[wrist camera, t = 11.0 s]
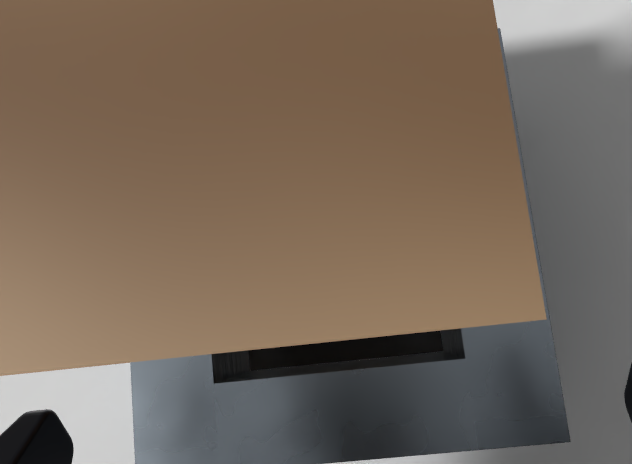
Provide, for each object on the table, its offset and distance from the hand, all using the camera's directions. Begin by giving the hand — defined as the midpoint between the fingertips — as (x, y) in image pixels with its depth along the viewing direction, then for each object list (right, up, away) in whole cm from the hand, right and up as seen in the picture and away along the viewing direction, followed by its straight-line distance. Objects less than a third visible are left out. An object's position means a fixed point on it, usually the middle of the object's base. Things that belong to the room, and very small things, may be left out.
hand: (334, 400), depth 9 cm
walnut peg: (0, +2, +8) cm, 8 cm away
